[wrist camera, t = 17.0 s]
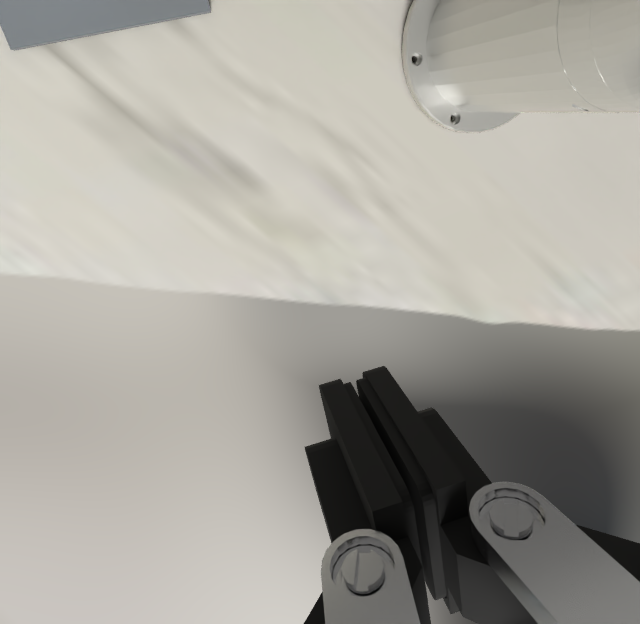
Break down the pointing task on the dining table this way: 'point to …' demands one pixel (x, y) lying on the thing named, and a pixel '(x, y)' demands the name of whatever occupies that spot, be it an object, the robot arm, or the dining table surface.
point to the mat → (85, 17)
